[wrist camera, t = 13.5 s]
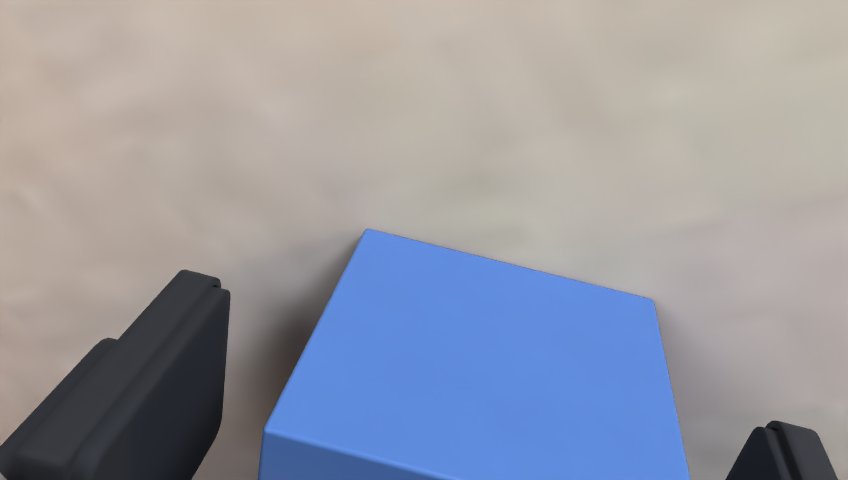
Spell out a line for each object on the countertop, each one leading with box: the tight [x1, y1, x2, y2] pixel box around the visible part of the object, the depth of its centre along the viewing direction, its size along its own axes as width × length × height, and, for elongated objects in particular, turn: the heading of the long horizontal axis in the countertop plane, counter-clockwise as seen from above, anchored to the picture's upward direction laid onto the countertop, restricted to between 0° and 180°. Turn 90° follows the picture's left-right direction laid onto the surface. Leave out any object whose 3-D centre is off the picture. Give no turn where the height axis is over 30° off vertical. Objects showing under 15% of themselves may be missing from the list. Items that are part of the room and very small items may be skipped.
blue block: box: [258, 229, 690, 480], centre depth 10 cm, size 4×4×4 cm
